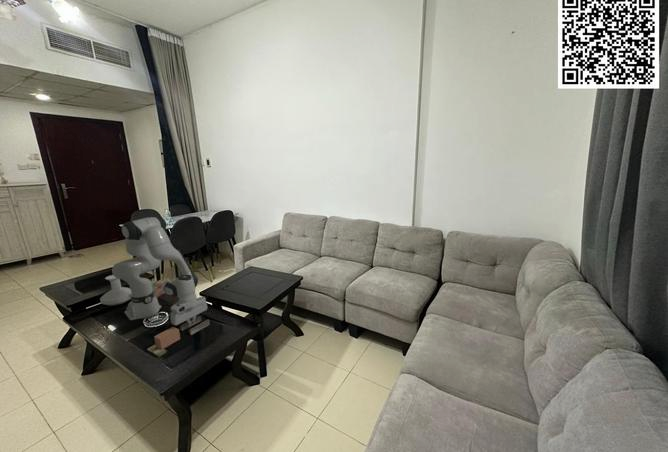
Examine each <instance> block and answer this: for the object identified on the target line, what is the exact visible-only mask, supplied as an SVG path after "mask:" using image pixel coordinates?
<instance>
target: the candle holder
mask: <svg viewBox="0 0 668 452" xmlns="http://www.w3.org/2000/svg"><path fill="white" fill-rule="evenodd" d="M104 279H105V280H107V281H109V283H110V287H111V289H110V290H108V292H106V293H104V294H103V295H101V297H100V298H99V300H100V303H101V304H102V305H107V306H116V305H121V304H124V303H126V302H129V301H131V300H132V299H131V298H132V297H131V296H132V292H131V289H130V287H125V286H122V283H121V279H118V278H116V277H115V276H114V275H113V274H112V275H108V276H106V277H105V278H104Z"/></svg>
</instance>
